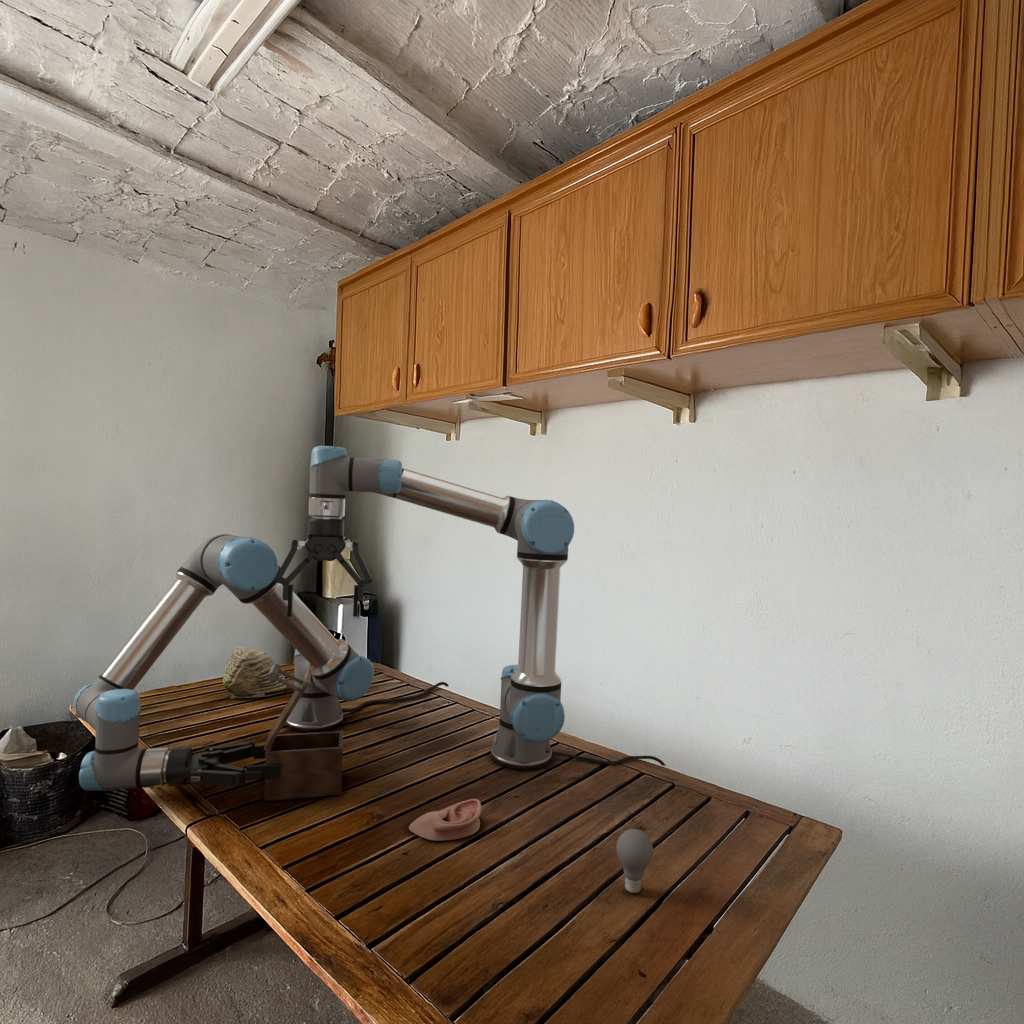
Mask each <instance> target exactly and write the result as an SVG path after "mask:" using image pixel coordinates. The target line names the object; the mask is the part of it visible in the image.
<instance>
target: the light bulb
mask: <svg viewBox="0 0 1024 1024" xmlns="http://www.w3.org/2000/svg"><path fill="white" fill-rule="evenodd" d="M615 849H616V854H617V857H618V859H619V861H620V863H621V865H622V867H623V873H624V874H623V875H624V876H625V878H624V888H625V890H627V891H628V892H630V893H634V894H635V893H639V892H640V891H641V889H642V887H641V886H642V879H643V877H644V875H645V871H646V868H647V867H648V866H649V864H650V863H651V861H652V859H653V855H654V847H653V843H652V841H651V838H649V836H648V835H647V834H646V833H645V832H643V831H642V830H641V829H636V828H629V829H627V830H625V831H623V832H622V833H621V834H620V835H619V837H618V839H617V841H616V847H615Z"/></svg>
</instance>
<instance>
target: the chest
mask: <svg viewBox="0 0 1024 1024" xmlns="http://www.w3.org/2000/svg"><path fill="white" fill-rule="evenodd" d="M343 746H344V731H343V730H335V731H334V730H333V731H318V732H299V733H283V734H278V735H277V737H276V738H275V740H274V741H273V743H272V745H271V746H270V748H269V750H268V751H266V753H265V758H264V763H265V764H264V765H269V764H281V773H280V778H275V779H264V794H263V795H264V799H263V802H272V801H284V800H285V801H286V800H294V799H296V800H297V799H307V798H320V797H331V796H342V792H343V791H342V790H343V789H342V788H343V787H342V785H343V784H342V783H343V754H344V753H343V752H344V751H343V750H344V749H343Z"/></svg>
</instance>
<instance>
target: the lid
mask: <svg viewBox="0 0 1024 1024" xmlns="http://www.w3.org/2000/svg"><path fill="white" fill-rule="evenodd" d="M279 673H280V674H282V675H283V676H284V677H286V678H288V679H290V680H292V681H293V682H294V681H296V682H298V683H300V684H299V685H298V687H297V686H295V685H294V683H291V682H290V681H288V680H286V679H285V680H284V679H282V678H280V677H278V674H279ZM311 673H312V670H311V669H308V671H307V673H306V674H305V676H304V677H303V679H302V680H301V679H299V678H297V677H295V676H294V674H291V673H289V672H287V671H286V670H284V669H281V665H279V664H278V663H275V664H274V665H273V666H272V667H271V669H270V672H269V674H268V680H269V681H275V680H276V681H278V682H280V683H282V684H284V685H286V686H287V687H288V688H290V689H292V690H293V693H292V694H291V697H290V699H289V700H288V702H287V703H286V704H285V706H284V708H283V710H282V711H281V713H280V715H279V716H278V717H277V719H276V721H275V723H274V724H273V726H272V728H271V729H270V730H269V733H268V736H267V738H266V742H265V744H264V745H265V748H264V750H265V751H268V750H269V748H270V746H271V745H272V743H273V741H274V740H275V738H276V737H277V735H279V734H280V732H281V730H282V728H283V727H284V725H286V720H287V719H288V717H289V716H290V714H291V712H292V711H293V709H294V707H295V706H296V704H297V703H298V701H299V699H300V698H301V696H302V695H303V693H304V691H305V690H306V688H307V686H308V685H309V683H310V678H311ZM294 690H295V692H294Z"/></svg>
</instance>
